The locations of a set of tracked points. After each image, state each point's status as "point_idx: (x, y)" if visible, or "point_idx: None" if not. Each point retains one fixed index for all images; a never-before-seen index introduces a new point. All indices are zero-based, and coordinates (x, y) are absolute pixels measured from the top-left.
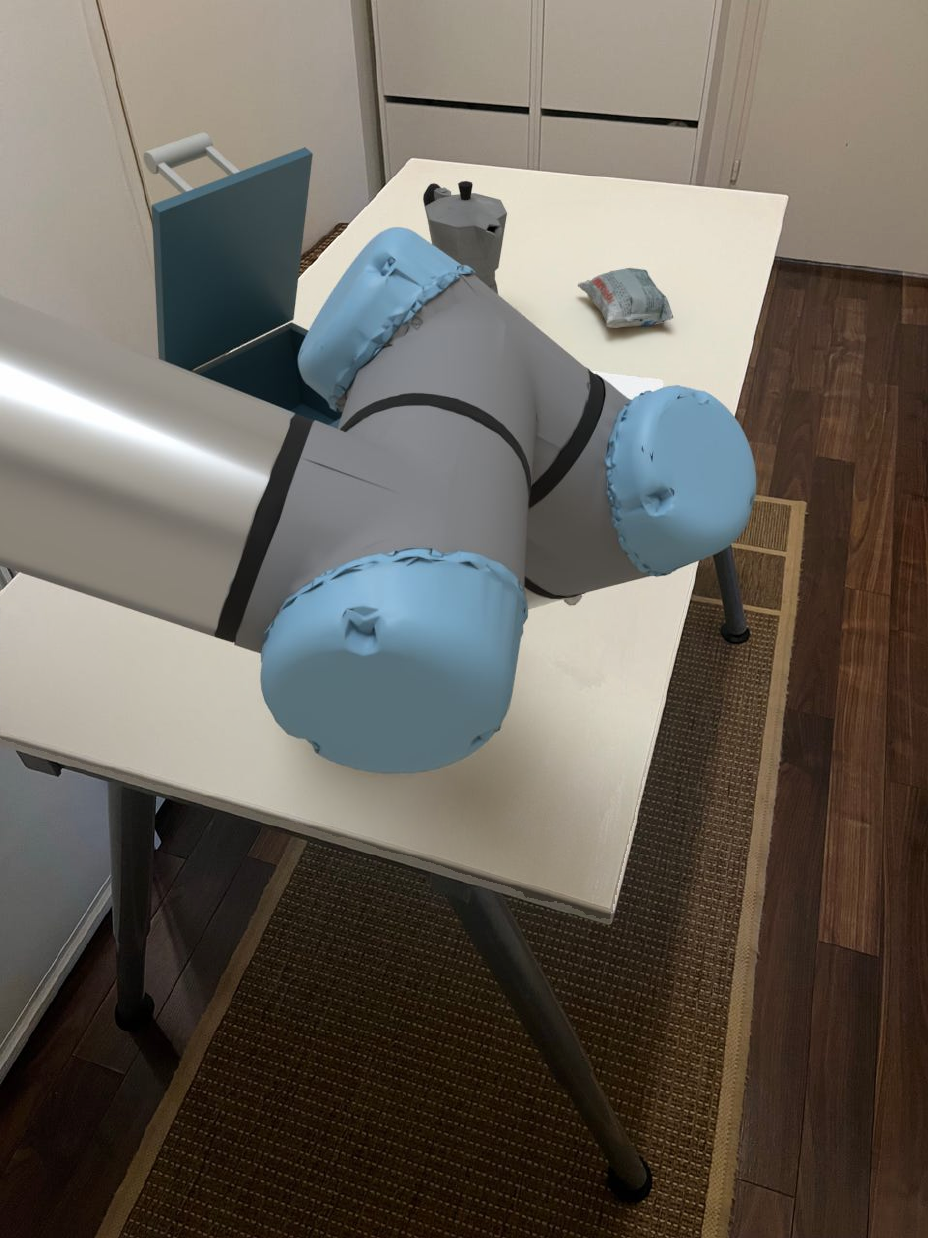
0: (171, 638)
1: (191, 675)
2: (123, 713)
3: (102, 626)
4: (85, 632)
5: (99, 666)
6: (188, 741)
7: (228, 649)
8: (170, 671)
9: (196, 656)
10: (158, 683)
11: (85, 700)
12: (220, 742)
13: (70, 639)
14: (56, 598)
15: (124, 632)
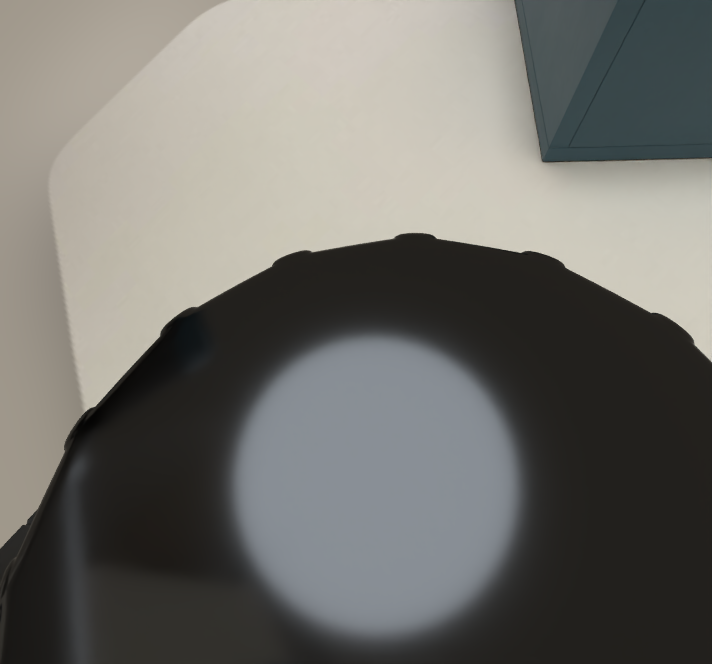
0: (271, 176)
1: (237, 245)
2: (134, 234)
3: (231, 105)
4: (212, 100)
5: (179, 153)
6: (141, 337)
7: (306, 245)
8: (225, 220)
9: (267, 223)
10: (199, 225)
11: (126, 184)
12: None
13: (192, 98)
14: (232, 40)
15: (241, 129)
